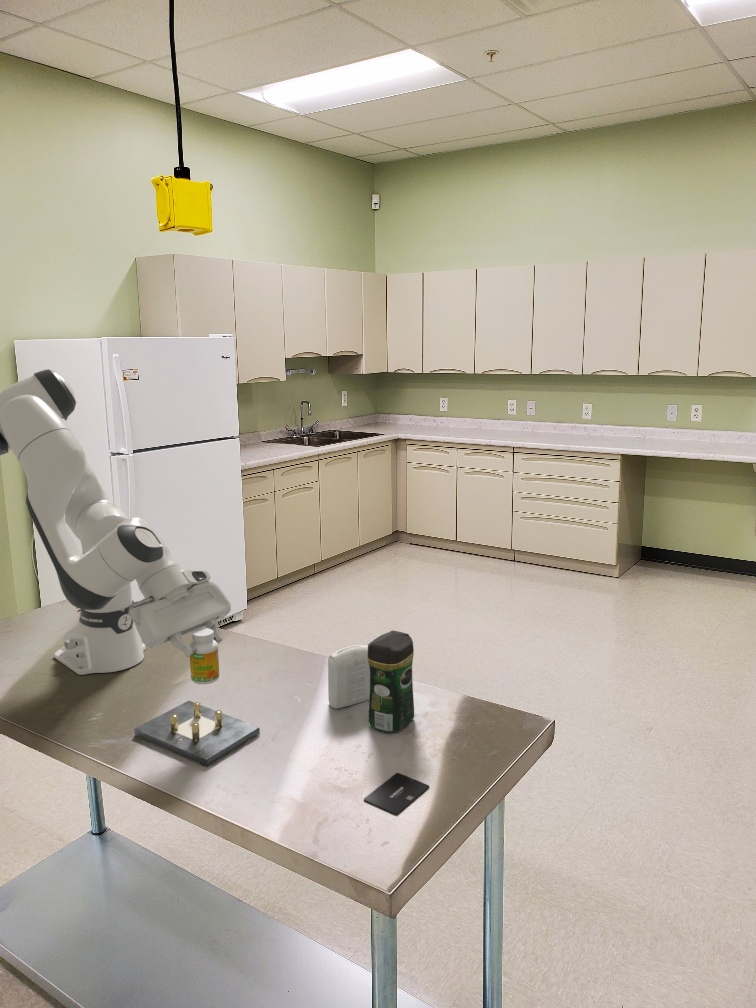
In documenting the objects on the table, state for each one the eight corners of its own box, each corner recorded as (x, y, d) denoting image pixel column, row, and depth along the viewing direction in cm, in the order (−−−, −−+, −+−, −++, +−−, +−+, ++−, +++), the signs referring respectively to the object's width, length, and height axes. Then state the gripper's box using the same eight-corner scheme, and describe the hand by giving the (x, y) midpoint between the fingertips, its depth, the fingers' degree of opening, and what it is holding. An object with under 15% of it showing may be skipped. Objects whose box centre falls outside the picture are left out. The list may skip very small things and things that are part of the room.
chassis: (134, 735, 151) (133, 714, 150) (189, 707, 162) (187, 687, 161) (206, 767, 140) (205, 744, 139) (259, 734, 151) (258, 713, 150)
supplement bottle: (190, 686, 146) (187, 638, 144) (191, 674, 151) (189, 627, 149) (219, 684, 147) (216, 636, 145) (219, 671, 152) (217, 625, 150)
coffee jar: (386, 707, 161) (386, 624, 157) (419, 717, 157) (420, 632, 153) (361, 728, 153) (360, 640, 149) (395, 738, 149) (395, 649, 145)
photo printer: (366, 691, 169) (365, 638, 166) (377, 698, 165) (376, 645, 162) (325, 703, 163) (324, 649, 160) (335, 711, 159) (334, 656, 157)
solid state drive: (430, 789, 133) (430, 785, 133) (396, 818, 125) (396, 814, 125) (397, 775, 137) (397, 772, 137) (362, 802, 130) (362, 799, 129)
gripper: (131, 596, 141) (170, 659, 137) (213, 568, 157) (250, 623, 154) (117, 614, 144) (155, 676, 141) (199, 585, 161) (235, 639, 157)
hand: (205, 648), depth 148 cm, fingers closed on supplement bottle, 5 cm apart
